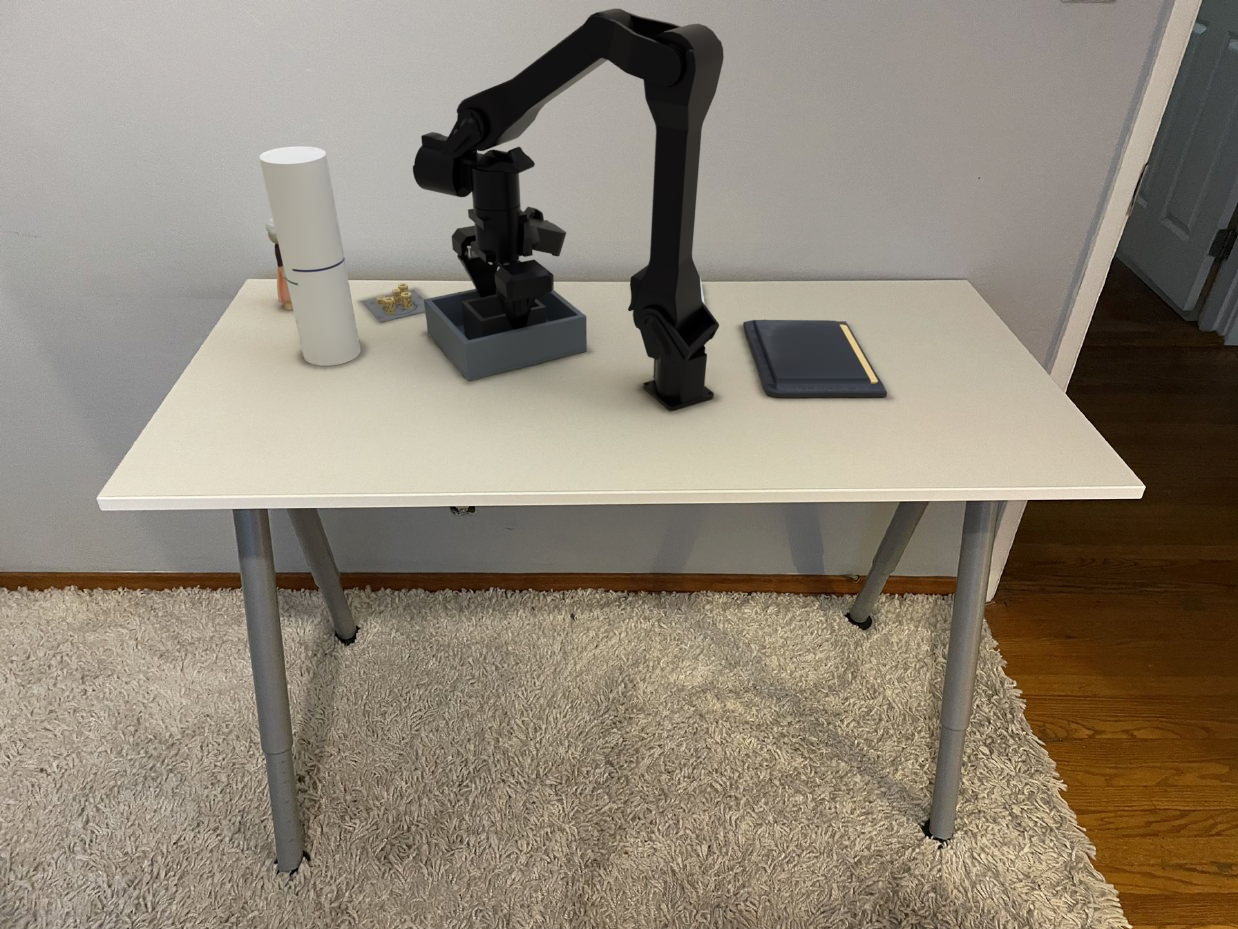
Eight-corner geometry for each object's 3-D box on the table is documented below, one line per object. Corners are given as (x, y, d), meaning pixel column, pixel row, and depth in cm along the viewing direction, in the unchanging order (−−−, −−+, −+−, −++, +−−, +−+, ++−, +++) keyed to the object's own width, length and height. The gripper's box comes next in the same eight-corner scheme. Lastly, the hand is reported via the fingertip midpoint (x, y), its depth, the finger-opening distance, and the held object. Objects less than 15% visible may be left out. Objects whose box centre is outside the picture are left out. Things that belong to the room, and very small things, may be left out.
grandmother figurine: (276, 296, 123) (256, 210, 115) (304, 292, 124) (286, 207, 117) (283, 318, 117) (263, 229, 110) (312, 313, 118) (293, 225, 111)
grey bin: (586, 351, 111) (586, 316, 108) (468, 381, 104) (464, 344, 101) (538, 309, 121) (537, 275, 118) (427, 334, 114) (423, 299, 111)
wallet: (743, 312, 117) (852, 313, 117) (742, 324, 118) (849, 326, 118) (764, 384, 101) (890, 386, 101) (762, 397, 102) (887, 399, 102)
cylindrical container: (345, 368, 106) (306, 166, 91) (292, 362, 107) (246, 161, 92) (370, 343, 111) (337, 148, 97) (320, 337, 113) (280, 144, 98)
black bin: (547, 341, 112) (545, 306, 109) (483, 356, 108) (481, 321, 105) (526, 322, 116) (524, 288, 113) (464, 335, 112) (461, 301, 110)
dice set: (407, 294, 124) (405, 282, 123) (420, 307, 121) (418, 294, 120) (374, 301, 122) (372, 289, 121) (386, 315, 118) (384, 302, 117)
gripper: (592, 216, 98) (592, 337, 107) (524, 174, 111) (529, 284, 120) (504, 232, 94) (512, 356, 103) (444, 185, 107) (456, 299, 116)
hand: (504, 321), depth 111 cm, fingers open, 9 cm apart
